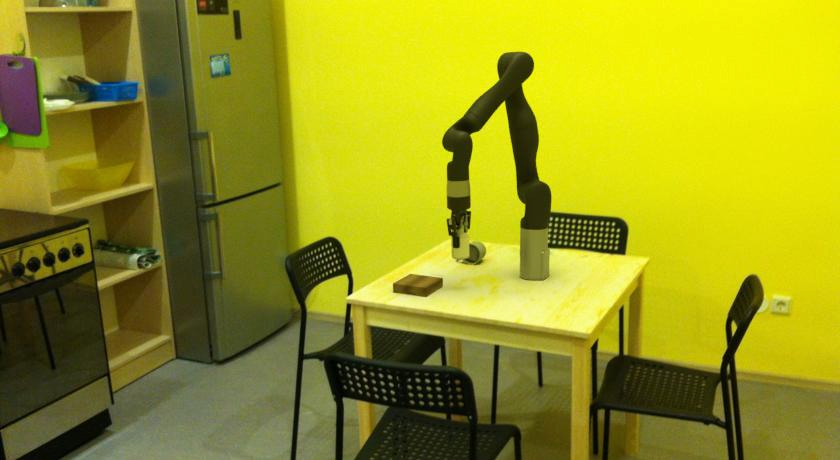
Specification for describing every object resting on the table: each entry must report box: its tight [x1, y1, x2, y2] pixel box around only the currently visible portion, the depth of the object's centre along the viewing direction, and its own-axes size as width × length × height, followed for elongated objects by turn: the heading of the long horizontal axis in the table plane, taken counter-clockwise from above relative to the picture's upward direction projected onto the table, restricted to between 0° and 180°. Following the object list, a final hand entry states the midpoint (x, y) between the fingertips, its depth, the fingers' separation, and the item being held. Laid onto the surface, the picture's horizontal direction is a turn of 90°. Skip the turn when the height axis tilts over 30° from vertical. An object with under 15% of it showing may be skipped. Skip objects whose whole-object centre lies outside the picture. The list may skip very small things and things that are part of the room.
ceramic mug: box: [456, 240, 487, 266], centre depth 295 cm, size 11×8×8 cm
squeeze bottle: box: [450, 225, 470, 260], centre depth 259 cm, size 4×6×12 cm
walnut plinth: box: [392, 273, 444, 298], centre depth 263 cm, size 12×12×3 cm
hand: (459, 245), depth 260 cm, fingers closed on squeeze bottle, 5 cm apart
